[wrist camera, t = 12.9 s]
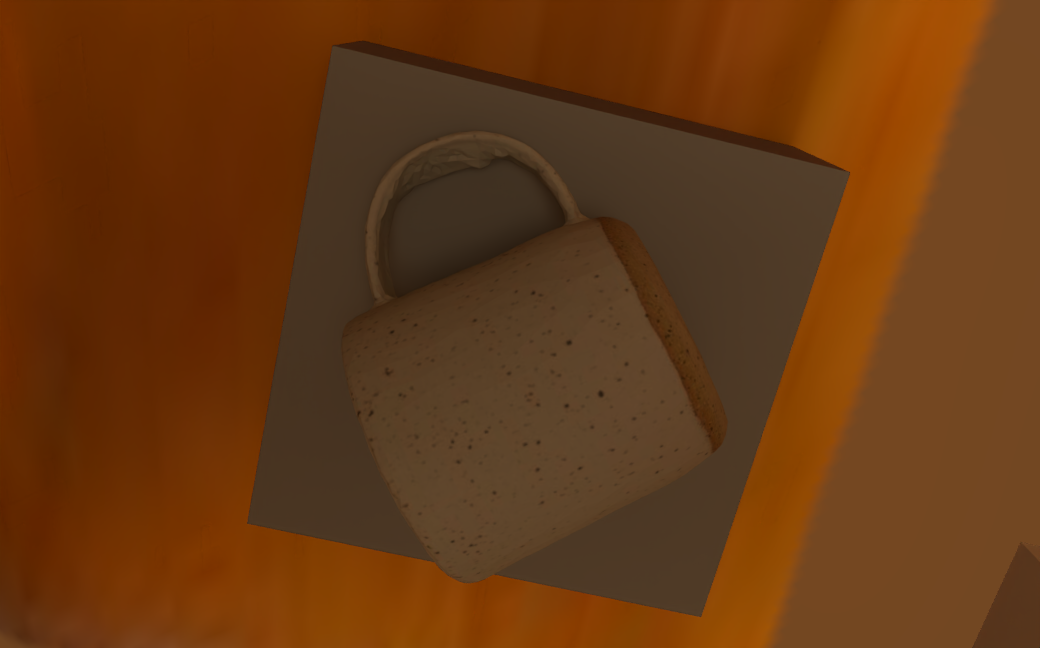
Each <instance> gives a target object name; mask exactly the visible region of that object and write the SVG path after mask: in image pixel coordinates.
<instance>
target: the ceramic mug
mask: <svg viewBox="0 0 1040 648" xmlns="http://www.w3.org/2000/svg"><path fill="white" fill-rule="evenodd" d="M492 159H506V160H510V161H512V162H514V163H516V164H517V165H519V166H521V167H523V168H525V169H527V170H529V171H531V172H533V173H534V174H535V175H536V176H537V177H538V178H539V179H540V181H541V182H542V184H543V185H545V186H546V187H547V188H548V189H549V190H550V192H551V193H552V194H553V196H554V197H555V199H556V200H557V202H558V203H559V204H560V206H561V208H562V210H563V212H564V215H565V223H564V225H563V226H562V227H559V228H557V229H554V230H551V231H549V232H546V233H544V234H542V235H539V236H537V237H535V238H533V239H530V240H528V241H526V242H524V243H522V244H520V245H518V246H516V247H514V248H512V249H510V250H509V251H507V252H504V253H502V254H500V255H498V256H496V257H494V258H491V259H489V260H486V261H484V262H482V263H479V264H477V265H474V266H472V267H470V268H467V269H464V270H461V271H459V272H457V273H454V274H452V275H450V276H448V277H446V278H443V279H441V280H439V281H436V282H433V283H430V284H428V285H426V286H424V287H422V288H419V289H416V290H413V291H411V292H409V293H407V294H406V295H404V296H402V297H399V298H397V296H396V295H395V290H394V286H393V283H392V278H391V273H390V267H389V232H390V227H391V222H392V218H393V214H394V212H395V209H396V207H397V206H398V203H399V202H400V200H401V199H402V198H403V197H404V196H405V195H407V194H409V193H410V192H411V190H412V189H413V188H414V187H416V186H417V185H419V184H422V183H426V182H428V181H431V180H433V179H436V178H438V177H441V176H443V175H446V174H448V173H451V172H454V171H458V170H461V169H465V168H469V167H474V168H480V169H483V168H484V167H486V166H488V165H489V164H490V163H491V161H492ZM365 262H366V270H367V275H368V280H369V285H370V289H371V293H372V296H373V299H374V306H373V307H372V308H371V309H370V310H369V311H367V312H365V313H363V314H361V315H359V316H357V317H355V318H354V319H352V320H351V321H349V322H348V323H347V324H346V326H345V327H344V330H343V335H342V345H341V352H342V360H343V366H344V370H345V377H346V380H347V383H348V388H349V394H350V397H351V400H352V403H353V406H354V409H355V412H356V415H357V418H358V420H359V423H360V425H361V427H362V429H363V432H364V435H365V438H366V441H367V444H368V447H369V450H370V452H371V454H372V456H373V458H374V461H375V463H376V465H377V467H378V470H379V472H380V475H381V477H382V478H383V480H384V481H385V483H386V485H387V487H388V489H389V491H390V493H391V495H392V497H393V499H394V501H395V503H396V505H397V507H398V509H399V511H400V512H401V514H402V515H403V517H404V518H405V520H406V521H407V523H408V525H409V526H410V528H411V529H412V530H413V532H414V533H415V535H416V536H417V538H418V539H419V541H420V542H421V544H422V545H423V547H424V548H425V550H426V552H427V553H428V554H429V556H430V557H431V558H432V559H433V561H434V562H435V563H436V564H437V565H438V567H439V568H440V569H441V570H442V571H444V572H445V573H446V574H447V575H448V576H450V577H452V578H454V579H456V580H458V581H460V582H463V583H474V582H478V581H481V580H483V579H486V578H487V577H489V576H491V575H493V574H495V573H497V572H499V571H501V570H502V569H504V568H506V567H508V566H510V565H512V564H514V563H515V562H517V561H519V560H521V559H522V558H524V557H526V556H529V555H531V554H533V553H535V552H537V551H539V550H541V549H543V548H545V547H547V546H549V545H550V544H552V543H554V542H556V541H558V540H560V539H562V538H564V537H566V536H568V535H570V534H571V533H574V532H576V531H578V530H580V529H582V528H584V527H586V526H588V525H590V524H591V523H593V522H595V521H597V520H599V519H601V518H602V517H604V516H606V515H608V514H610V513H612V512H614V511H616V510H618V509H620V508H622V507H624V506H626V505H628V504H630V503H632V502H634V501H636V500H638V499H640V498H642V497H644V496H646V495H648V494H650V493H652V492H654V491H656V490H658V489H660V488H662V487H664V486H666V485H668V484H670V483H672V482H673V481H675V480H677V479H678V478H680V477H682V476H683V475H685V474H686V473H688V472H689V471H690V470H692V469H693V468H694V467H696V466H697V465H698V464H700V463H701V462H702V461H704V460H705V459H706V458H708V457H709V456H710V455H712V454H713V453H714V452H715V451H716V450H717V449H718V448H719V447H720V446H721V445H722V443H723V441H724V438H725V436H726V432H727V424H728V420H727V417H726V414H725V411H724V408H723V405H722V402H721V400H720V397H719V395H718V393H717V390H716V388H715V386H714V384H713V381H712V379H711V377H710V375H709V373H708V370H707V368H706V365H705V363H704V361H703V358H702V356H701V354H700V352H699V350H698V348H697V346H696V344H695V342H694V340H693V338H692V336H691V334H690V332H689V330H688V328H687V326H686V324H685V322H684V320H683V318H682V316H681V314H680V312H679V310H678V308H677V306H676V304H675V302H674V300H673V298H672V296H671V294H670V293H669V291H668V289H667V287H666V285H665V283H664V281H663V279H662V277H661V275H660V273H659V271H658V269H657V267H656V265H655V264H654V262H653V260H652V258H651V257H650V255H649V253H648V251H647V250H646V248H645V246H644V245H643V243H642V241H641V239H640V238H639V236H638V235H637V233H636V232H635V230H634V229H633V228H632V227H631V226H630V225H629V224H627V223H625V222H623V221H620V220H618V219H615V218H613V217H598V218H593V219H589V218H587V217H586V216H584V215H582V214H581V213H580V211H579V209H578V207H577V204H576V202H575V200H574V197H573V196H572V194H571V193H570V191H569V189H568V187H567V185H566V184H565V182H564V181H563V180H562V178H561V177H560V175H559V174H558V173H557V172H556V170H555V169H554V168H553V167H552V166H551V165H550V164H549V163H548V162H547V161H546V160H545V159H544V158H543V157H542V156H541V155H540V154H539V153H538V152H536V151H535V150H534V149H533V148H531V147H530V146H528V145H526V144H525V143H523V142H520V141H518V140H515V139H513V138H510V137H508V136H505V135H503V134H497V133H490V132H485V131H469V132H458V133H454V134H450V135H447V136H443V137H440V138H438V139H435V140H433V141H430V142H427V143H425V144H422V145H420V146H418V147H416V148H415V149H413V150H412V151H410V152H409V153H407V154H406V155H404V156H403V157H402V158H400V159H399V160H397V161H396V162H395V163H394V164H393V165H392V166H391V167H390V169H389V170H388V171H387V172H386V174H385V175H384V176H383V178H382V180H381V181H380V183H379V185H378V187H377V189H376V191H375V194H374V196H373V199H372V202H371V205H370V208H369V211H368V217H367V222H366V225H365Z"/></svg>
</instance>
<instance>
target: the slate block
mask: <svg viewBox="0 0 1040 648" xmlns="http://www.w3.org/2000/svg"><path fill="white" fill-rule="evenodd" d="M469 131H485V132H490V133H497V134H503V135H505V136H508V137H510V138H513V139H515V140H518V141H520V142H523V143H525V144H526V145H528V146H530V147H531V148H533V149H534V150H535V151H536V152H538V153H539V154H540V155H541V156H542V157H543V158H544V159H545V160H546V161H547V162H548V163H549V164H550V165H551V166H552V167H553V168H554V169H555V170H556V172H557V173H558V174H559V175H560V177H561V178H562V180H563V181H564V182H565V184H566V185H567V187H568V189H569V191H570V193H571V194H572V196H573V197H574V200H575V202H576V204H577V207H578V209H579V211H580V213H581V214H582V215H584V216H586V217H587V218H589V219H593V218H598V217H613V218H615V219H618V220H620V221H623V222H625V223H627V224H629V225H630V226H631V227H632V228H633V229H634V230H635V232H636V233H637V235H638V236H639V238H640V239H641V241H642V243H643V245H644V246H645V248H646V250H647V251H648V253H649V255H650V257H651V258H652V260H653V262H654V264H655V265H656V267H657V269H658V271H659V273H660V275H661V277H662V279H663V281H664V283H665V285H666V287H667V289H668V291H669V293H670V294H671V296H672V298H673V300H674V302H675V304H676V306H677V308H678V310H679V312H680V314H681V316H682V318H683V320H684V322H685V324H686V326H687V328H688V330H689V332H690V334H691V336H692V338H693V340H694V342H695V344H696V346H697V348H698V350H699V352H700V354H701V356H702V358H703V361H704V363H705V365H706V368H707V370H708V373H709V375H710V377H711V379H712V381H713V384H714V386H715V388H716V390H717V393H718V395H719V397H720V400H721V402H722V405H723V408H724V411H725V414H726V417H727V420H728V424H727V432H726V436H725V438H724V441H723V443H722V445H721V446H720V447H719V448H718V449H717V450H716V451H715V452H714V453H713V454H712V455H710V456H709V457H708V458H706V459H705V460H704V461H702V462H701V463H700V464H698V465H697V466H696V467H694V468H693V469H692V470H690V471H689V472H688V473H686V474H685V475H683V476H682V477H680V478H678V479H677V480H675V481H673V482H672V483H670V484H668V485H666V486H664V487H662V488H660V489H658V490H656V491H654V492H652V493H650V494H648V495H646V496H644V497H642V498H640V499H638V500H636V501H634V502H632V503H630V504H628V505H626V506H624V507H622V508H620V509H618V510H616V511H614V512H612V513H610V514H608V515H606V516H604V517H602V518H601V519H599V520H597V521H595V522H593V523H591V524H590V525H588V526H586V527H584V528H582V529H580V530H578V531H576V532H574V533H571V534H570V535H568V536H566V537H564V538H562V539H560V540H558V541H556V542H554V543H552V544H550V545H549V546H547V547H545V548H543V549H541V550H539V551H537V552H535V553H533V554H531V555H529V556H526V557H524V558H522V559H521V560H519V561H517V562H515V563H514V564H512V565H510V566H508V567H506V568H504V569H502V570H501V571H499V572H497V573H495V575H500V576H505V577H510V578H514V579H519V580H524V581H529V582H534V583H539V584H544V585H548V586H553V587H558V588H563V589H568V590H573V591H577V592H582V593H587V594H592V595H597V596H602V597H607V598H611V599H616V600H621V601H626V602H631V603H636V604H641V605H645V606H650V607H655V608H660V609H665V610H670V611H675V612H679V613H684V614H689V615H694V616H699V617H701V615H702V612H703V609H704V606H705V603H706V600H707V597H708V594H709V591H710V588H711V585H712V582H713V579H714V577H715V574H716V571H717V568H718V565H719V562H720V559H721V556H722V553H723V550H724V547H725V544H726V541H727V538H728V535H729V532H730V529H731V526H732V523H733V520H734V517H735V514H736V511H737V508H738V505H739V502H740V499H741V496H742V493H743V490H744V487H745V484H746V481H747V478H748V475H749V472H750V469H751V466H752V463H753V460H754V457H755V454H756V451H757V448H758V446H759V443H760V440H761V437H762V434H763V431H764V428H765V425H766V422H767V419H768V416H769V413H770V410H771V407H772V404H773V401H774V398H775V395H776V392H777V389H778V386H779V383H780V380H781V377H782V374H783V371H784V368H785V365H786V362H787V359H788V356H789V353H790V350H791V347H792V344H793V341H794V338H795V335H796V332H797V329H798V326H799V323H800V320H801V317H802V315H803V312H804V309H805V306H806V303H807V300H808V297H809V294H810V291H811V288H812V285H813V282H814V279H815V276H816V273H817V270H818V267H819V264H820V261H821V258H822V255H823V252H824V249H825V246H826V243H827V240H828V237H829V234H830V231H831V228H832V225H833V222H834V219H835V216H836V213H837V210H838V207H839V204H840V201H841V198H842V195H843V192H844V189H845V186H846V184H847V181H848V178H849V175H850V172H848V171H846V170H844V169H841V168H839V167H837V166H835V165H833V164H830V163H828V162H826V161H824V160H822V159H819V158H817V157H815V156H813V155H811V154H808V153H806V152H804V151H802V150H800V149H797V148H795V147H793V146H789V145H785V144H781V143H777V142H772V141H768V140H764V139H760V138H756V137H752V136H748V135H744V134H740V133H736V132H732V131H728V130H724V129H720V128H716V127H712V126H707V125H703V124H699V123H695V122H691V121H687V120H683V119H679V118H675V117H671V116H667V115H663V114H659V113H655V112H651V111H646V110H642V109H638V108H634V107H630V106H626V105H622V104H618V103H614V102H610V101H606V100H602V99H598V98H594V97H590V96H586V95H581V94H577V93H573V92H569V91H565V90H561V89H557V88H553V87H549V86H545V85H541V84H537V83H533V82H529V81H525V80H521V79H516V78H512V77H508V76H504V75H500V74H496V73H492V72H488V71H484V70H480V69H476V68H472V67H468V66H464V65H460V64H456V63H451V62H447V61H443V60H439V59H435V58H431V57H427V56H423V55H419V54H415V53H411V52H407V51H403V50H399V49H395V48H391V47H386V46H382V45H378V44H374V43H370V42H366V41H359V42H352V43H346V44H340V45H333V46H332V52H331V57H330V63H329V68H328V74H327V80H326V85H325V91H324V96H323V102H322V108H321V113H320V119H319V124H318V130H317V136H316V141H315V147H314V152H313V158H312V164H311V169H310V175H309V180H308V186H307V191H306V197H305V203H304V208H303V214H302V219H301V225H300V231H299V236H298V242H297V247H296V253H295V259H294V264H293V270H292V275H291V281H290V287H289V292H288V298H287V303H286V309H285V315H284V320H283V326H282V331H281V337H280V343H279V348H278V354H277V359H276V365H275V371H274V376H273V382H272V387H271V393H270V399H269V404H268V410H267V415H266V421H265V427H264V432H263V438H262V443H261V449H260V455H259V460H258V466H257V471H256V477H255V483H254V488H253V494H252V499H251V505H250V511H249V516H248V522H247V523H248V524H252V525H257V526H262V527H267V528H272V529H277V530H281V531H286V532H291V533H296V534H301V535H306V536H311V537H315V538H320V539H325V540H330V541H335V542H340V543H345V544H349V545H354V546H359V547H364V548H369V549H374V550H379V551H383V552H388V553H393V554H398V555H403V556H408V557H413V558H417V559H422V560H427V561H432V562H434V561H433V559H432V558H431V557H430V556H429V554H428V553H427V552H426V550H425V548H424V547H423V545H422V544H421V542H420V541H419V539H418V538H417V536H416V535H415V533H414V532H413V530H412V529H411V528H410V526H409V525H408V523H407V521H406V520H405V518H404V517H403V515H402V514H401V512H400V511H399V509H398V507H397V505H396V503H395V501H394V499H393V497H392V495H391V493H390V491H389V489H388V487H387V485H386V483H385V481H384V480H383V478H382V477H381V475H380V472H379V470H378V467H377V465H376V463H375V461H374V458H373V456H372V454H371V452H370V450H369V447H368V444H367V441H366V438H365V435H364V432H363V429H362V427H361V425H360V423H359V420H358V418H357V415H356V412H355V409H354V406H353V403H352V400H351V397H350V394H349V388H348V383H347V380H346V377H345V370H344V366H343V360H342V352H341V345H342V335H343V330H344V327H345V326H346V324H347V323H348V322H349V321H351V320H352V319H354V318H355V317H357V316H359V315H361V314H363V313H365V312H367V311H369V310H370V309H371V308H372V307H373V306H374V299H373V296H372V293H371V289H370V285H369V280H368V275H367V270H366V262H365V225H366V222H367V217H368V211H369V208H370V205H371V202H372V199H373V196H374V194H375V191H376V189H377V187H378V185H379V183H380V181H381V180H382V178H383V176H384V175H385V174H386V172H387V171H388V170H389V169H390V167H391V166H392V165H393V164H394V163H395V162H396V161H397V160H399V159H400V158H402V157H403V156H404V155H406V154H407V153H409V152H410V151H412V150H413V149H415V148H416V147H418V146H420V145H422V144H425V143H427V142H430V141H433V140H435V139H438V138H440V137H443V136H447V135H450V134H454V133H458V132H469ZM564 223H565V215H564V212H563V210H562V208H561V206H560V204H559V203H558V202H557V200H556V199H555V197H554V196H553V194H552V193H551V192H550V190H549V189H548V188H547V187H546V186H545V185H543V184H542V182H541V181H540V179H539V178H538V177H537V176H536V175H535V174H534V173H533V172H531V171H529V170H527V169H525V168H523V167H521V166H519V165H517V164H516V163H514V162H512V161H510V160H506V159H492V161H491V163H490V164H489V165H488V166H486V167H484V168H483V169H480V168H474V167H469V168H465V169H461V170H458V171H454V172H451V173H448V174H446V175H443V176H441V177H438V178H436V179H433V180H431V181H428V182H426V183H422V184H419V185H417V186H416V187H414V188H413V189H412V190H411V192H410V193H409V194H407V195H405V196H404V197H403V198H402V199H401V200H400V202H399V203H398V206H397V207H396V209H395V212H394V214H393V218H392V222H391V227H390V232H389V267H390V273H391V278H392V283H393V286H394V290H395V295H396V296H397V298H399V297H402V296H404V295H406V294H407V293H409V292H411V291H413V290H416V289H419V288H422V287H424V286H426V285H428V284H430V283H433V282H436V281H439V280H441V279H443V278H446V277H448V276H450V275H452V274H454V273H457V272H459V271H461V270H464V269H467V268H470V267H472V266H474V265H477V264H479V263H482V262H484V261H486V260H489V259H491V258H494V257H496V256H498V255H500V254H502V253H504V252H507V251H509V250H510V249H512V248H514V247H516V246H518V245H520V244H522V243H524V242H526V241H528V240H530V239H533V238H535V237H537V236H539V235H542V234H544V233H546V232H549V231H551V230H554V229H557V228H559V227H562V226H563V225H564Z"/></svg>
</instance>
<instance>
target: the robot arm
mask: <svg viewBox="0 0 1040 648" xmlns="http://www.w3.org/2000/svg"><path fill="white" fill-rule="evenodd" d="M972 648H1040V546H1037V545H1032V544H1028V543H1023V542H1021V543H1020V545H1019V547H1018V549H1017V552H1016V554H1015V556H1014V558H1013V560H1012V562H1011V565H1010V567H1009V569H1008V571H1007V573H1006V575H1005V578H1004V580H1003V582H1002V584H1001V586H1000V589H999V591H998V593H997V595H996V598H995V599H994V602H993V604H992V606H991V608H990V610H989V613H988V615H987V617H986V619H985V621H984V624H983V626H982V628H981V630H980V632H979V634H978V637H977V639H976V641H975V643H974V645H973V647H972Z"/></svg>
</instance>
